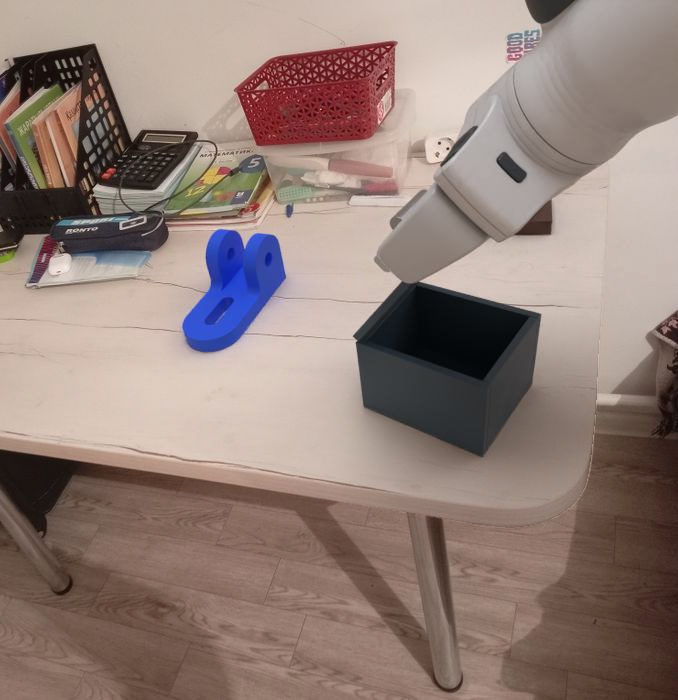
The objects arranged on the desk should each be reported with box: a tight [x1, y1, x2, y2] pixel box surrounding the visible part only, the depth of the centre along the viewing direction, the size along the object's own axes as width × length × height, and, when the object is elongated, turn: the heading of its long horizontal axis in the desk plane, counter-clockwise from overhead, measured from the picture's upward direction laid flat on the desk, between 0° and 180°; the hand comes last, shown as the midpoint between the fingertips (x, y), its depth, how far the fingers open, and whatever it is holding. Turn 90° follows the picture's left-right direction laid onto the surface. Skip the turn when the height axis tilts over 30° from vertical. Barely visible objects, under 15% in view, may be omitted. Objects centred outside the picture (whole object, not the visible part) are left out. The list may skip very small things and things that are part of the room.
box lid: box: [352, 188, 428, 342], centre depth 60 cm, size 14×12×5 cm
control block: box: [513, 198, 553, 236], centre depth 87 cm, size 9×8×4 cm
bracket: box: [181, 228, 287, 353], centre depth 86 cm, size 18×8×9 cm, turn 147°
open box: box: [355, 281, 542, 458], centre depth 65 cm, size 14×12×10 cm
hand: (409, 230), depth 55 cm, fingers open, 8 cm apart
